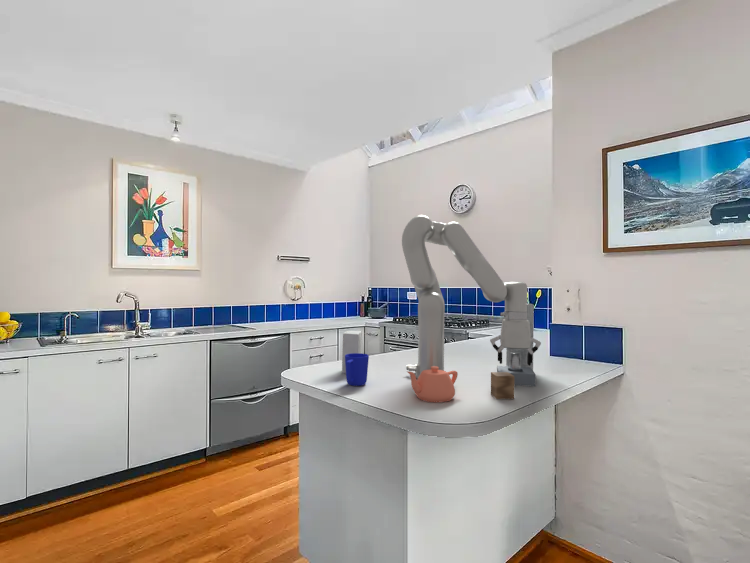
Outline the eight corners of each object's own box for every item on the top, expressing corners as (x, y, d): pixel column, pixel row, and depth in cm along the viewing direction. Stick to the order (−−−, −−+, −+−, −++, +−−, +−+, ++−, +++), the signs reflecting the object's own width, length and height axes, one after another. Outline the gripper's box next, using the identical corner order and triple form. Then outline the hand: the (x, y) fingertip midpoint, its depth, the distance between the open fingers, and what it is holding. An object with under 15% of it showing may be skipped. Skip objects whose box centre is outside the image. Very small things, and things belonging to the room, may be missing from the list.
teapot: (468, 400, 124) (468, 368, 124) (416, 407, 117) (416, 373, 117) (445, 390, 135) (446, 361, 135) (396, 396, 128) (397, 365, 128)
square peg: (496, 399, 125) (496, 376, 125) (490, 394, 131) (490, 372, 131) (514, 399, 126) (514, 376, 126) (507, 394, 131) (508, 372, 131)
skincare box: (346, 368, 167) (346, 330, 167) (362, 369, 166) (362, 330, 166) (341, 373, 159) (341, 332, 159) (358, 374, 158) (358, 333, 158)
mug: (335, 388, 136) (336, 358, 136) (350, 380, 147) (350, 352, 147) (358, 391, 133) (359, 360, 133) (371, 382, 144) (372, 354, 144)
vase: (537, 372, 163) (537, 303, 163) (527, 376, 155) (527, 304, 155) (512, 368, 169) (512, 302, 169) (501, 372, 162) (502, 303, 162)
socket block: (499, 384, 144) (499, 372, 144) (496, 376, 156) (497, 365, 156) (535, 386, 141) (535, 374, 141) (530, 378, 153) (530, 367, 153)
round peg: (510, 382, 147) (510, 353, 147) (509, 379, 150) (509, 352, 150) (520, 382, 146) (521, 354, 146) (519, 380, 150) (519, 352, 150)
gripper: (491, 316, 147) (490, 364, 147) (543, 318, 143) (542, 367, 143) (490, 314, 154) (489, 360, 154) (539, 316, 150) (538, 363, 150)
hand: (514, 364), depth 148 cm, fingers open, 9 cm apart
